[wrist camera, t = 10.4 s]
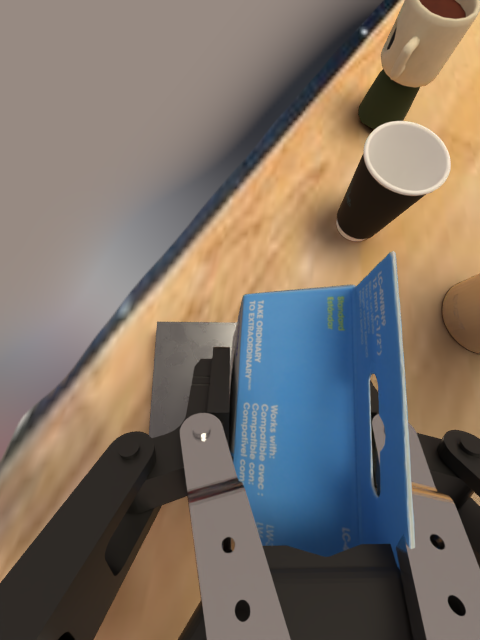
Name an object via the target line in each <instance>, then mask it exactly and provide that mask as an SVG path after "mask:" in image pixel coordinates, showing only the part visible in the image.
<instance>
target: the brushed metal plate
mask: <svg viewBox="0 0 480 640" xmlns="http://www.w3.org/2000/svg"><path fill="white" fill-rule="evenodd" d="M236 325H237V323H217V322H157V331H156V345H155V359H154V372H153V386H152V400H151V413H150V427H149V436H150V437H151V438H154V437H158V436H161V435H165V434H167V433H170V432H172V431H174V430H175V429H177V428H178V427H179V426H180V425H181V424H182V422H183V421H184V419H185V417H186V412H187V407H188V401H189V395H190V389H191V385H192V378H193V372H194V367H195V365H196V364H197V363H198V362H199V360H200V359H212V356H213V347H230V365H231V351H232V341H233V335H234V332H235V329H236Z"/></svg>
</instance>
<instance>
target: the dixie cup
mask: <svg viewBox="0 0 480 640" xmlns="http://www.w3.org/2000/svg"><path fill="white" fill-rule="evenodd" d="M450 167H451V162H450V156H449V153H448V150H447V148H446V146H445V144H444V143H443V142H442V140H441V139H440V138H439V137H438V136H437V135H436V134H435V133H433V132H432V131H431V130H429V129H428V128H426V127H424V126H422V125H419V124H416V123H413V122H408V121H393V122H388V123H385V124H383V125H380V126H379V127H377V128H376V129H375V130H373V131H372V132H371V134H370V135H369V136H368V138H367V140H366V142H365V145H364V153H363V155H362V158H361V160H360V162H359V165H358V167H357V169H356V171H355V174H354V176H353V178H352V181H351V183H350V185H349V187H348V190H347V192H346V194H345V197H344V199H343V201H342V204H341V206H340V208H339V210H338V213H337V220H336V225H337V229H338V231H339V232H340V234H341V235H342V236H343V237H345V238H346V239H348V240H351V241H362V240H365V239H367V238H370V237H372V236H373V235H375V234H376V233H377V232H378V231H380V230H381V229H382V228H383V227H385V226H386V225H387V224H389V223H390V222H391V221H392V220H394V219H395V218H396V217H398V216H399V215H400V214H401V213H403V212H404V211H405V210H406V209H408V208H409V207H410V206H412V205H413V204H414V203H415V202H417V201H418V200H419V199H421V198H422V197H423V196H424V195H426V194H428V193H431V192H433V191H435V190H436V189H438V188H439V187H440V186H441V185H442V184H443V183H444V182H445V181H446V179H447V177H448V175H449V172H450Z"/></svg>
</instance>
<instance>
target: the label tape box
mask: <svg viewBox="0 0 480 640" xmlns="http://www.w3.org/2000/svg"><path fill="white" fill-rule="evenodd" d="M372 374H375V376H376V378H377V382H378V394H379V395H378V399H379V416H380V418H381V420H382V421H383V424H384V427H385V434H386V437H385V445H384V447H383V449H382V450H381V451H380V496H379V497H378V495H377V493H376V490H375V486H374V478H373V460H372V436H371V404H370V377H371V375H372ZM229 450H230V454H231V457H232V461H233V464H234V467H235V471H236V474H237V477H238V480H239V481H241V482H242V483H243V485H244V488H245V490H246V494H247V497H248V500H249V503H250V507H251V510H252V513H253V517H254V520H255V523H256V527H257V530H258V533H259V537H260V540H261V543H262V546H279V545H287V546H290V547H293V548H297V549H300V550H303V551H307V552H310V553H314V554H317V555H320V556H324V557H328V556H332V555H334V554H337V553H340V552H342V551H345V550H347V549H350V548H353V547H355V546H358V545H361V544H391V547H392V551H393V554H394V557H395V561H396V564H397V567H399V562H398V556H397V551H396V546H397V544H398V542H399V540H400V539H401V537H402V536H403V534H404V537H405V540H406V542H407V544H408V546H409V548H410V549H413V548H415V531H414V513H413V501H412V484H411V464H410V445H409V431H408V412H407V397H406V382H405V367H404V353H403V342H402V324H401V313H400V300H399V293H398V276H397V264H396V253H395V252H394V251H392V252H390V253H389V254H388V255H387V256H386V257H385V258H384V259H383V260H382V261H381V262H380V263H379V264H378V265H377V266H376V267H375V268H374V269H373V270H372V271H371V272H370V273H369V274H368V275H367V276H366V277H365V278H364V279H363V280H362V281H361V282H360V283H359V284H358V285H357V286H355V285H341V286H331V287H320V288H308V289H297V290H285V291H274V292H264V293H254V294H245V295H244V296H243V298H242V302H241V307H240V311H239V316H238V322H237V325H236V329H235V332H234V335H233V341H232V351H231V365H230V402H229ZM399 569H400V567H399Z"/></svg>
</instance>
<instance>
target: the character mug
mask: <svg viewBox="0 0 480 640" xmlns="http://www.w3.org/2000/svg"><path fill="white" fill-rule="evenodd" d="M479 11H480V0H405V1H404V4H403V6H402V8H401V10H400V12H399V15H398V17H397V19H396V21H395V24H394V26H393V28H392V30H391V32H390V34H389V36H388V39H387V41H386V43H385V45H384V47H383V49H382V52H381V62H382V67H383V70H382V71H381V72H380V73H379V75H378V77H377V78H376V80H375V81H374V83H373V84H372V86H371V88H370V89H369V91H368V92H367V94H366V96H365V97H364V99H363V101H362V103H361V104H360V106H359V111H358V115H359V117H360V120H361V122H362V123H364V124H365V125H367V126H369V127H370V128H373V129H376V128H377V127H379V126H380V125H383V124H385V123H388V122H393V121H403V120H404V118H405V116H406V114H407V112H408V111H409V109H410V107H411V105H412V103H413V100H414V98H415V96H416V94H417V92H418V90H419V88H420V87H421V86H426V85H427V84H429V83H430V82H432V81H433V80H434V79H435V78H436V76H437V75H438V74H439V72H440V71H441V69H442V68H443V66H444V65H445V63H446V62H447V60H448V59H449V57H450V56H451V54H452V53H453V51H454V50H455V48H456V47H457V45H458V44H459V42H460V41H461V39H462V38H463V36H464V35H465V33H466V32H467V30H468V29H469V27H470V26H471V24H472V23H473V21H474V20H475V18H476V17H477V15H478V13H479Z"/></svg>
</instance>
